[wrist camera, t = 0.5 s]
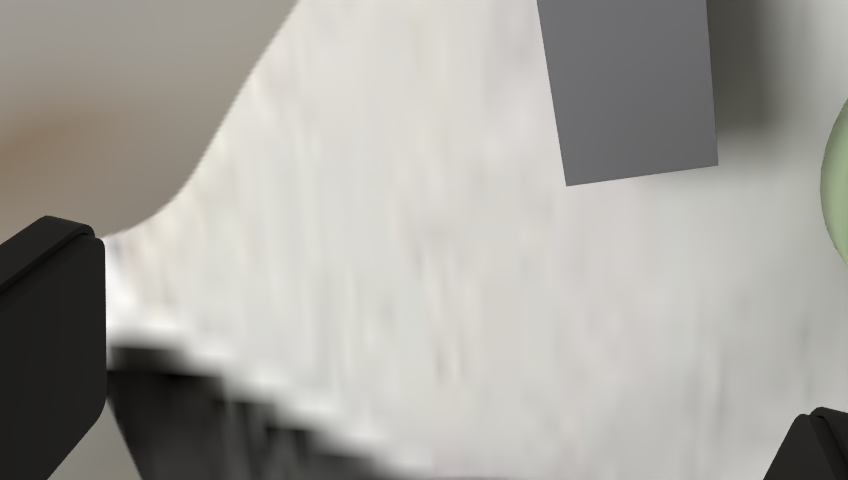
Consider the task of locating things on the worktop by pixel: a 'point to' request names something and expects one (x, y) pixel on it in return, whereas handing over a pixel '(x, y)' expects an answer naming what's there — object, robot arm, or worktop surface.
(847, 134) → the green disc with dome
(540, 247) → the worktop surface
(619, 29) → the grey sliding block
